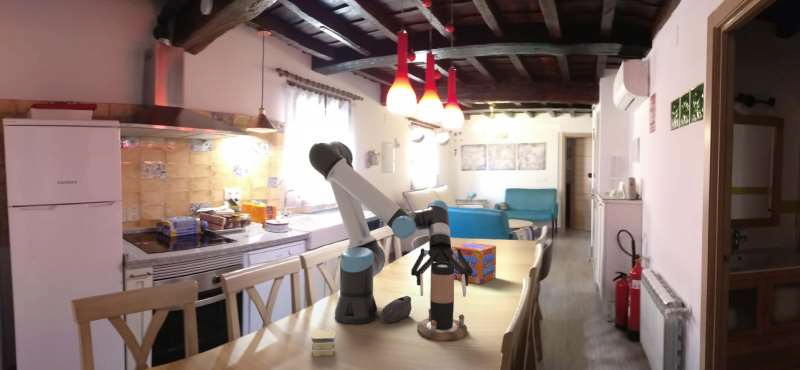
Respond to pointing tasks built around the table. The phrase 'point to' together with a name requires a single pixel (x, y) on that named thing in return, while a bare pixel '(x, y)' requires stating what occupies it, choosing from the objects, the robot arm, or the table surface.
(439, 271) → the travel mug
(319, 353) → the beige layered block
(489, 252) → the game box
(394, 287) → the table surface
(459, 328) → the brown round pegged stand
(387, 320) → the perforated stone tool
